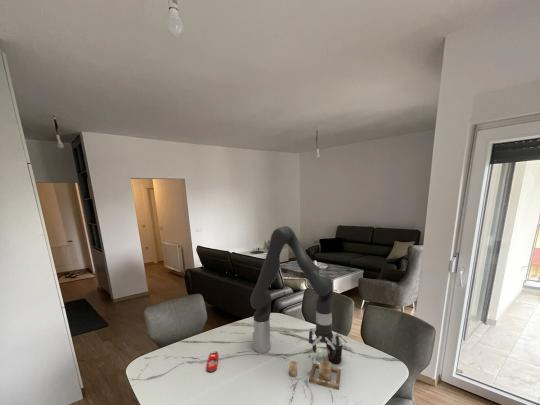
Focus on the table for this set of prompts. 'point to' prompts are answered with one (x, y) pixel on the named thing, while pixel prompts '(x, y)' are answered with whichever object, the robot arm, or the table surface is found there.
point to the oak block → (325, 370)
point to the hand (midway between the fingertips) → (324, 353)
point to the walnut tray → (323, 382)
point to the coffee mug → (337, 357)
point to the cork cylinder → (292, 369)
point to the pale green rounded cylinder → (320, 354)
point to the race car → (212, 361)
